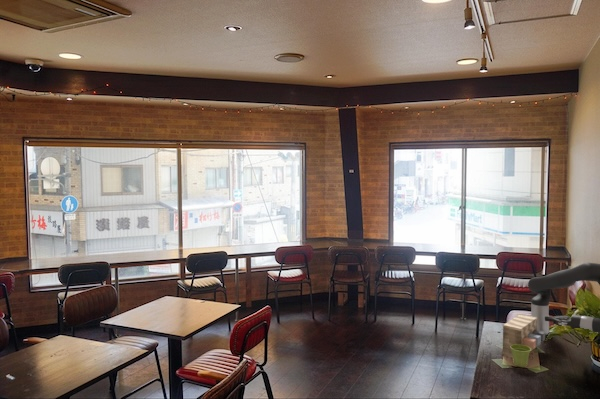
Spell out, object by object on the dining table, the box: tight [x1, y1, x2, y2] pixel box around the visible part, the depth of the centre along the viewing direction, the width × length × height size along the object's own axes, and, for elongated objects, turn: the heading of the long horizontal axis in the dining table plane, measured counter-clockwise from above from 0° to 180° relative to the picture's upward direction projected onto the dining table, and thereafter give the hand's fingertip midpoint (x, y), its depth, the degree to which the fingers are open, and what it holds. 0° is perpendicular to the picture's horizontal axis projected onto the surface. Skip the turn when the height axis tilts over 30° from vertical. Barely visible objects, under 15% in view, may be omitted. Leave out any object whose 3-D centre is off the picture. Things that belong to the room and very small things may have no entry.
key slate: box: [528, 334, 542, 346], centre depth 247 cm, size 4×6×4 cm, turn 47°
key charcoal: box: [532, 330, 546, 342], centre depth 253 cm, size 4×6×4 cm, turn 47°
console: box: [502, 313, 538, 359], centre depth 252 cm, size 25×9×16 cm, turn 137°
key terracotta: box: [523, 337, 537, 350], centre depth 242 cm, size 4×6×4 cm, turn 47°
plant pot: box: [510, 344, 532, 368], centre depth 234 cm, size 9×9×9 cm
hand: (545, 318), depth 242 cm, fingers closed
